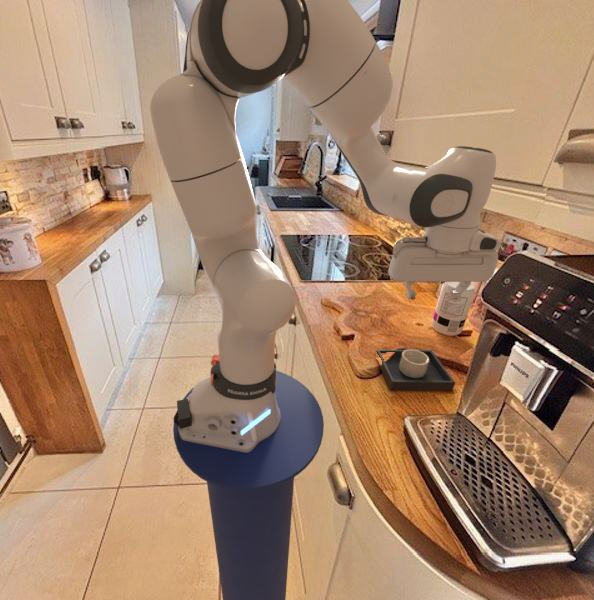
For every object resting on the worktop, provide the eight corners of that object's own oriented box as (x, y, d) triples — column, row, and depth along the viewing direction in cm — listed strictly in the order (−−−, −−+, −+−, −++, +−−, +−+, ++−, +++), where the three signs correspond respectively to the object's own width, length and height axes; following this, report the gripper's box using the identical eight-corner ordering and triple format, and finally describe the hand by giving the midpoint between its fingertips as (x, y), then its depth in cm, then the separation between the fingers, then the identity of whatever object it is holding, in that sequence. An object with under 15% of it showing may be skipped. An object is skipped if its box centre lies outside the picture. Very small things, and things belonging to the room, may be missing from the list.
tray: (390, 390, 76) (392, 381, 75) (375, 357, 87) (376, 349, 85) (452, 391, 75) (455, 382, 74) (429, 357, 86) (431, 349, 85)
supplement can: (424, 323, 101) (437, 279, 94) (447, 320, 102) (461, 277, 95) (443, 338, 94) (457, 292, 87) (467, 334, 95) (484, 289, 88)
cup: (403, 379, 78) (407, 364, 76) (395, 363, 83) (398, 349, 81) (429, 379, 78) (433, 364, 76) (418, 363, 83) (422, 349, 81)
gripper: (401, 241, 62) (388, 305, 68) (511, 241, 61) (487, 305, 68) (390, 232, 67) (379, 291, 74) (491, 231, 67) (470, 291, 73)
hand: (431, 298), depth 71 cm, fingers open, 8 cm apart
